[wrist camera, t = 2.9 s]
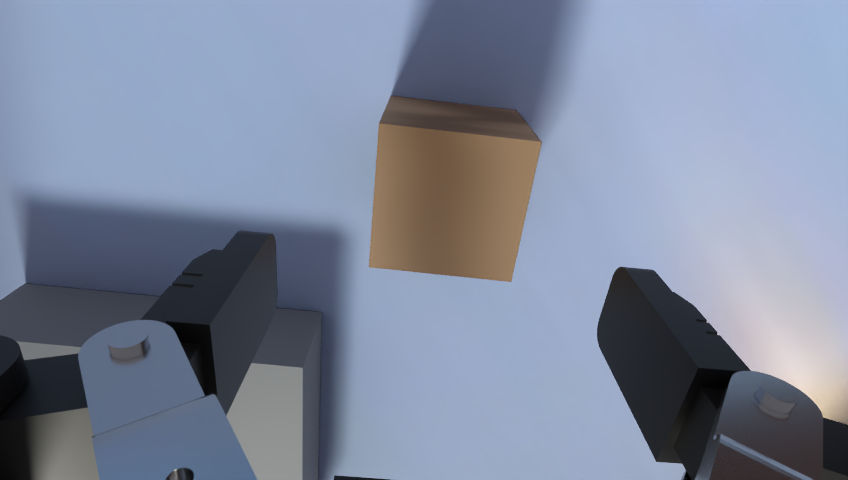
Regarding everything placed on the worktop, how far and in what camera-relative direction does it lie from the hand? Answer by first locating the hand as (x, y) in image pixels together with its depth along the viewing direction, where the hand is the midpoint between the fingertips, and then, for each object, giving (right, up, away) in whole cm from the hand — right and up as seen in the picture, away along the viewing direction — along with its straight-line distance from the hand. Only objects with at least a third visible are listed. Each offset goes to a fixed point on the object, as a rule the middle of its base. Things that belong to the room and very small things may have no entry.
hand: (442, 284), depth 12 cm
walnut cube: (0, +4, +9) cm, 10 cm away
